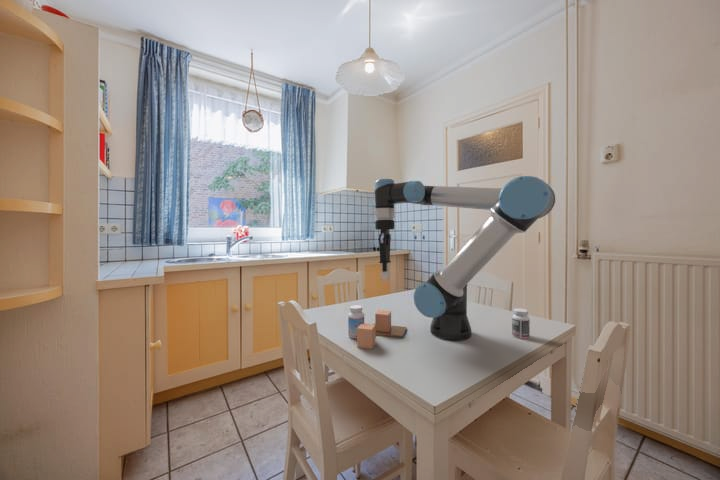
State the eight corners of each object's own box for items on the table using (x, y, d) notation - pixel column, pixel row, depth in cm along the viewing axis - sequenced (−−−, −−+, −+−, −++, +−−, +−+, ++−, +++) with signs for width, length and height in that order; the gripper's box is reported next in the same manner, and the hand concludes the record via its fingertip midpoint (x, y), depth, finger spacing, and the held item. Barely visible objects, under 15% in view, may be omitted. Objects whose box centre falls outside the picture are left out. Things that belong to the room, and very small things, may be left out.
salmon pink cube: (391, 327, 116) (391, 311, 116) (388, 331, 111) (388, 315, 111) (378, 326, 117) (378, 310, 117) (375, 330, 112) (375, 313, 112)
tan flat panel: (406, 328, 116) (406, 313, 116) (402, 337, 107) (402, 321, 107) (372, 325, 121) (372, 310, 120) (366, 334, 111) (366, 317, 111)
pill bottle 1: (362, 339, 105) (362, 309, 105) (346, 338, 107) (346, 308, 106) (365, 333, 111) (365, 305, 111) (350, 332, 113) (350, 304, 112)
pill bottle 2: (528, 334, 109) (529, 308, 109) (530, 340, 104) (530, 313, 103) (511, 332, 111) (511, 307, 111) (512, 337, 106) (512, 311, 106)
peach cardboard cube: (375, 343, 102) (375, 324, 102) (371, 348, 97) (371, 329, 97) (361, 341, 104) (361, 323, 104) (357, 347, 99) (357, 328, 99)
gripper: (378, 220, 120) (379, 276, 121) (371, 219, 107) (372, 282, 108) (396, 219, 118) (397, 277, 119) (391, 218, 105) (391, 282, 106)
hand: (385, 279), depth 114 cm, fingers closed
